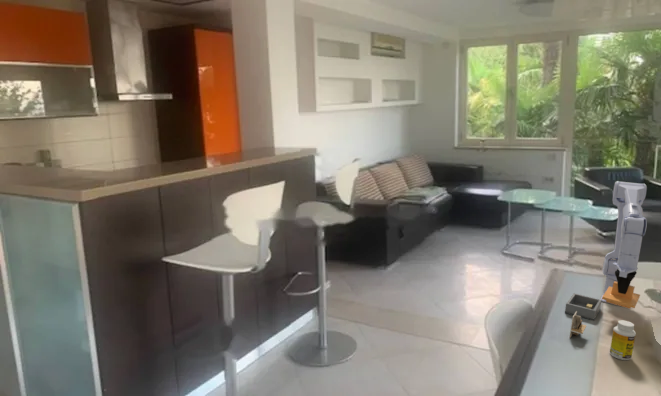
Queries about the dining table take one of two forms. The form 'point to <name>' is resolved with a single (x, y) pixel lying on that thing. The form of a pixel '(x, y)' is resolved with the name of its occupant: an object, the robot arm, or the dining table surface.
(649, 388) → the dining table surface
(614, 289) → the lid
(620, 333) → the supplement bottle
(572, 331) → the architectural model
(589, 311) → the tub
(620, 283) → the robot arm
